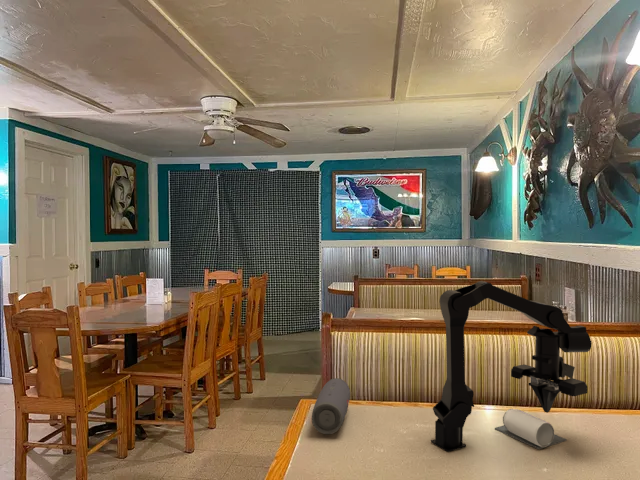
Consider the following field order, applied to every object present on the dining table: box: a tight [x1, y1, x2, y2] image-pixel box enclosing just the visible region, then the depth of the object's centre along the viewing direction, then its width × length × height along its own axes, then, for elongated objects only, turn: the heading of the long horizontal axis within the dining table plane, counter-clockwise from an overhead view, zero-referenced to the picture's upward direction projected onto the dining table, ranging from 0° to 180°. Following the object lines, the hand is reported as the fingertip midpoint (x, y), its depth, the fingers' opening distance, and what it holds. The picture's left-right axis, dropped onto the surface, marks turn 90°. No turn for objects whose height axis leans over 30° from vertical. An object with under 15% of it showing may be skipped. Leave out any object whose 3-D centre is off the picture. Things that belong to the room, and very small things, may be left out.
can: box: [502, 408, 555, 448], centre depth 125 cm, size 6×6×12 cm
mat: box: [494, 424, 567, 450], centre depth 129 cm, size 11×14×1 cm
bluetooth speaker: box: [311, 377, 351, 435], centre depth 137 cm, size 23×9×10 cm, turn 171°
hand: (546, 411), depth 124 cm, fingers closed
